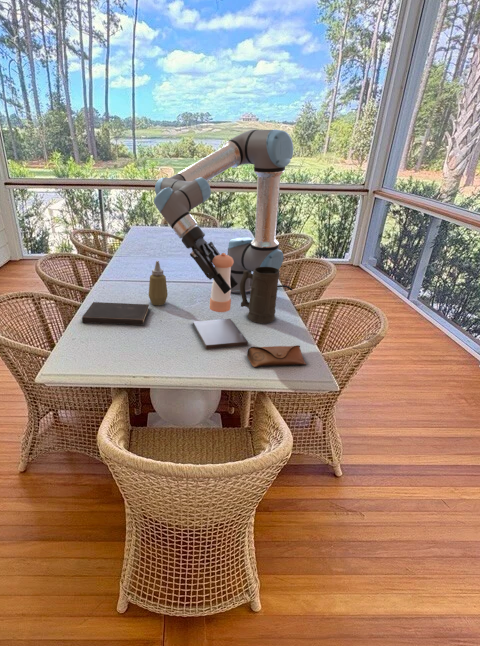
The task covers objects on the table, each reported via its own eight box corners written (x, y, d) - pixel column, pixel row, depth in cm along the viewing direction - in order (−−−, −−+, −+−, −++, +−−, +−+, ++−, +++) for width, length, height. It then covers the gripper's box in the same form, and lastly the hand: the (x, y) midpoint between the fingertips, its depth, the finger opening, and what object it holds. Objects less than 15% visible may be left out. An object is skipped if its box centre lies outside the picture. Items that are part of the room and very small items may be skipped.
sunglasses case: (253, 367, 122) (252, 346, 122) (247, 367, 129) (246, 347, 129) (308, 364, 125) (307, 343, 125) (299, 365, 132) (298, 345, 132)
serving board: (230, 322, 153) (230, 318, 152) (247, 345, 136) (248, 341, 136) (192, 324, 150) (192, 321, 149) (205, 349, 133) (206, 345, 132)
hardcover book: (93, 307, 162) (93, 301, 161) (149, 309, 162) (149, 304, 160) (82, 323, 149) (81, 317, 147) (143, 325, 148) (142, 320, 147)
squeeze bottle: (164, 307, 164) (164, 264, 155) (146, 305, 165) (144, 263, 156) (169, 300, 171) (169, 259, 162) (151, 299, 172) (150, 257, 163)
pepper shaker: (230, 305, 141) (234, 251, 131) (230, 313, 134) (234, 256, 125) (210, 303, 141) (213, 249, 131) (208, 311, 135) (211, 255, 125)
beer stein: (278, 315, 160) (282, 266, 150) (274, 325, 151) (277, 274, 141) (241, 312, 165) (242, 264, 155) (235, 321, 156) (236, 271, 146)
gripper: (194, 234, 140) (233, 287, 142) (168, 245, 126) (212, 303, 128) (208, 220, 135) (249, 275, 137) (183, 229, 121) (228, 290, 123)
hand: (231, 288), depth 132 cm, fingers closed on pepper shaker, 5 cm apart
